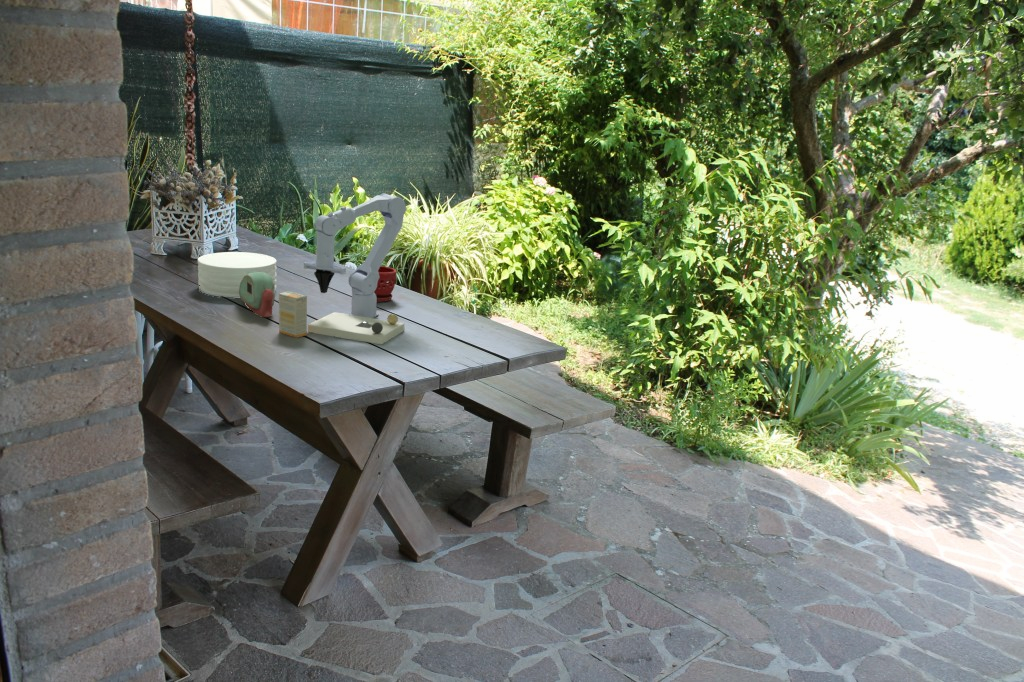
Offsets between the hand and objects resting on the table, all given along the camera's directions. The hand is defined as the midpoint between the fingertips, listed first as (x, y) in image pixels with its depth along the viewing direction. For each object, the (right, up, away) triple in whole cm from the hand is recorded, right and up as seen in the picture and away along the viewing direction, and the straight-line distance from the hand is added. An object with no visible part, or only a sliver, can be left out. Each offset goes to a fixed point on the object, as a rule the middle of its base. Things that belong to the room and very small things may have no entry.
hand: (323, 292), depth 287 cm
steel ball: (+14, -12, -4) cm, 19 cm away
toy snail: (-25, -6, +10) cm, 28 cm away
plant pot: (+12, -1, +38) cm, 40 cm away
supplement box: (-7, -14, -12) cm, 20 cm away
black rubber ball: (+20, -12, -13) cm, 27 cm away
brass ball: (+23, -9, -2) cm, 25 cm away
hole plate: (+12, -13, -4) cm, 18 cm away
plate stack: (-40, +3, +36) cm, 54 cm away
